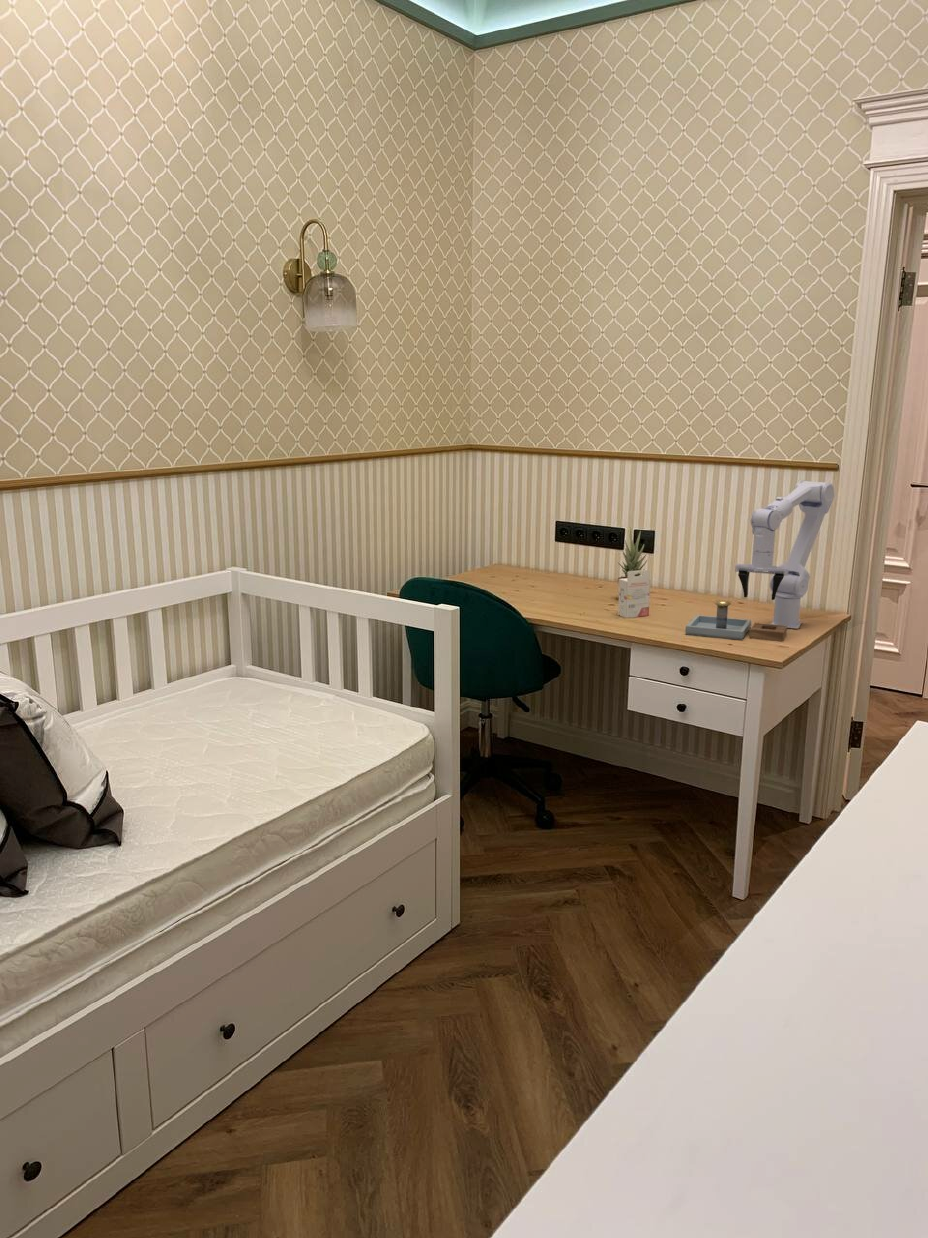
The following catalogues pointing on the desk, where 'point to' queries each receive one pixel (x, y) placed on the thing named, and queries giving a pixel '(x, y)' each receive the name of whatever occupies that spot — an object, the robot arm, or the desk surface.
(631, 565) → the potted plant
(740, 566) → the robot arm
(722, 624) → the lock pin
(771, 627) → the brown square socket base
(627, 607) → the ink cartridge box
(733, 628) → the tray
